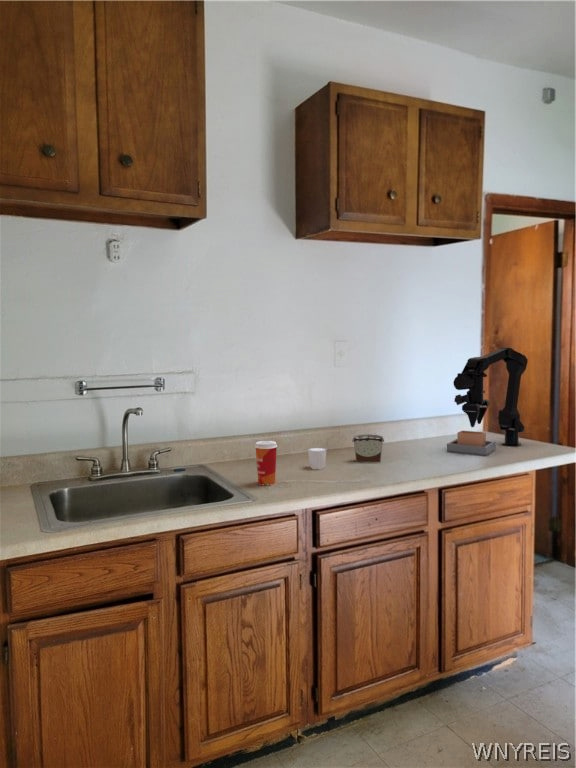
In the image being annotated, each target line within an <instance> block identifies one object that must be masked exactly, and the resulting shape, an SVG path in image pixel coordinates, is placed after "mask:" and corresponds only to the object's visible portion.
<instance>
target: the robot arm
mask: <svg viewBox="0 0 576 768" xmlns="http://www.w3.org/2000/svg"><path fill="white" fill-rule="evenodd" d="M466 361H467V362H466V363H465V365H464V367H463V369H462V371H461V373H457V376H456V377H455V378H454V380H453V382H452V383H453V387H454V388H455V390H457V391H463V390H467V391H466V394H463V395H462V394H457V395H455V398H454V401H453V402H454V403H456V405H457V406H459V405H461V411H462V412H463V413H465V414H466V416H467V418H468V421H469V425H470V427H471V428H475V425H476V423H477V425H480V424H481V423H482V421H483V419H484V416H485V414H486V413H487V411H488V409H489V407H490V400H489V399H485V398H484V394H485V392H486V391H485V390H484V378H487V377H488V375H487V374H486V373H485V371H487V370H488V369H489V368H490V366H492V364H496V363H497V362H499V361H502V362H504V363H505V368H506V371H507V373H508V380H507V387H506V394H505V402H504V407H503V408H502V409H500V410H499V411H498V417H497V420H498V425H499V429H500V430H501V431H504V442H502V444H501V445H502V446H509V447H510V446H511V447H519V446H521V443H522V442H519V441H520V439H519V435H520V433H522V432H524V430H525V426H524V424H523V423H522V422H521V418H520V417H521V415H520V412H519V410H518V404H519V403H518V402H519V396H520V387H521V379H522V375H524V373H525V371H526V370H527V366H528V362H529V361H528V358H527V357H526V355H525V354H522V353H520V352H519V351H516V350H514V349H513V348H511V347H509V346H505V347H504V346H502V347H500V348H499V349H497V350H494V351H492V352H489V353H487V354H484V355H482V356H473V357H470V358H468V359H467V360H466Z"/></svg>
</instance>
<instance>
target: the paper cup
mask: <svg viewBox="0 0 576 768" xmlns="http://www.w3.org/2000/svg"><path fill="white" fill-rule="evenodd" d="M277 448H278V445H277V442H276V441H274V440H260V441H256V442H255V445H254V449H255V457H256V471H257V481H258V485H259V484H265V485H267V484H274V483H275V484H276V471H277ZM275 484H274V485H275Z"/></svg>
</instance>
